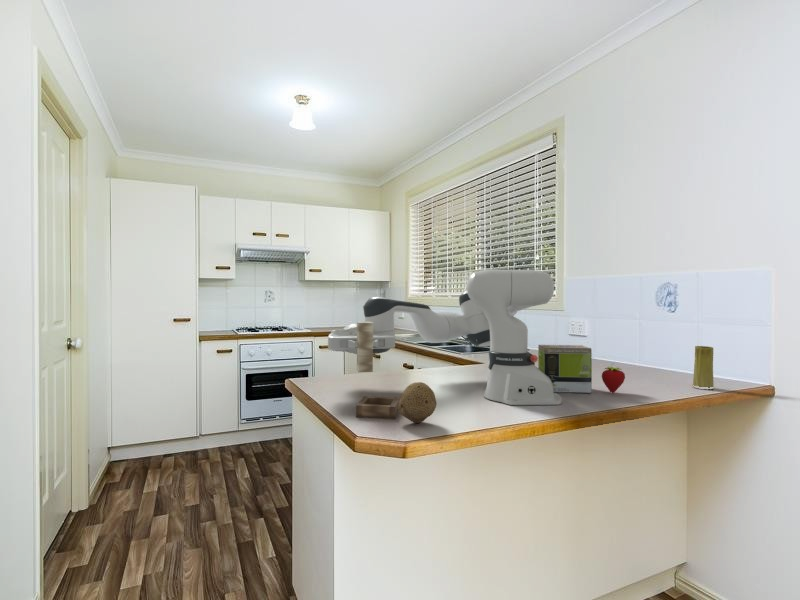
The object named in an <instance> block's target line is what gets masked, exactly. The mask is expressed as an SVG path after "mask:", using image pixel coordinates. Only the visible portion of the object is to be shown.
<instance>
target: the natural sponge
mask: <svg viewBox="0 0 800 600" xmlns="http://www.w3.org/2000/svg"><path fill="white" fill-rule="evenodd" d="M399 398H400V401H399V403H398V410H399V412H398V414H400V415H401V416H403V417H404V418H406V419H407V420H409V421H410V422H412V423H415V424H420V423H422V422H424V421H425V420H426V419H427V418H429V417H430V416H432V415H433V414H434V413H435V410H436V408H437V398H436V394H435V392H434V390H433V389H432V388H431V387H430V386H429V385H428V384H426V383H425V382H421V381H420V382H419V381H418V382H416V381H415V382H413V383H410V384H409V385H407V386H406V387H405V388H404V390H403V392H402V393H401V395H400V397H399Z"/></svg>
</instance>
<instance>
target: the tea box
mask: <svg viewBox="0 0 800 600" xmlns="http://www.w3.org/2000/svg"><path fill="white" fill-rule="evenodd" d="M537 348H538V349H537V352H538V354H537V357H538V359H537V360H538V362H537V363H538V364H537V366H538V367H537V368H538V369H539V370H541V371H542V372H543V373H544V374H545V375H547V376H548V377H549V378H550V380H551V381H552V384H553V389H554V393H578V394H579V393H581V394H583V393H584V394H585V393H586V394H591V393H592V390H593V389H592V386H593V385H592V383H593V382H592V380H593V379H592V377H593V375H592V374H593V373H592V371H593V369H592V368H593V367H592V366H593V365H592V364H593V363H592V360H593V359H592V357H593V355H592V353H593V352H592V348H591V347H588V346H585V345H583V344H538V347H537Z"/></svg>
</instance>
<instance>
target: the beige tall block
mask: <svg viewBox="0 0 800 600" xmlns="http://www.w3.org/2000/svg"><path fill="white" fill-rule="evenodd" d="M356 324H357V341H358V348H357V354H356V371H357V372H358V373H373V370H374V368H373V367H374V354H373V322H365V321H356Z"/></svg>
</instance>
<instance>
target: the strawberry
mask: <svg viewBox="0 0 800 600" xmlns="http://www.w3.org/2000/svg"><path fill="white" fill-rule="evenodd" d="M614 364H615V362H613V363H612V364H611V365H610V366H607V367H605V368H604V371H603V372H602V373H601V379H602V382H603V383H604V385H605V387H606V388H607V390H609V392H610V393H611V392H614V393H615V392H616V391H617V390H618V389H619V388H620V387H621V386H622V385H623V384H624V382H625V379H626V375H625V373H624V371H622V368H620V367H612V366H613V365H614Z"/></svg>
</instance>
